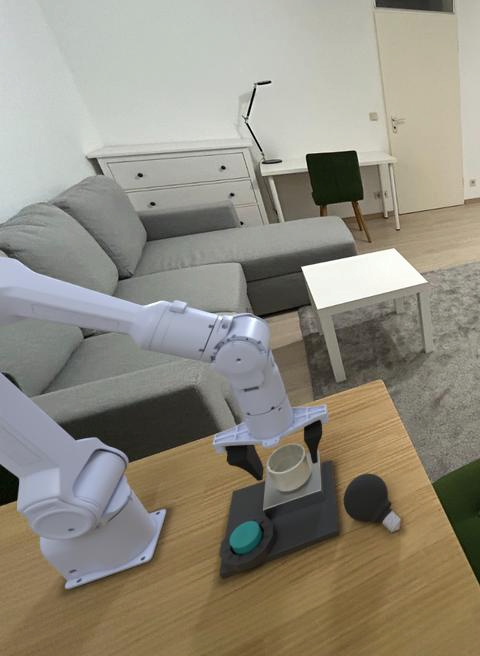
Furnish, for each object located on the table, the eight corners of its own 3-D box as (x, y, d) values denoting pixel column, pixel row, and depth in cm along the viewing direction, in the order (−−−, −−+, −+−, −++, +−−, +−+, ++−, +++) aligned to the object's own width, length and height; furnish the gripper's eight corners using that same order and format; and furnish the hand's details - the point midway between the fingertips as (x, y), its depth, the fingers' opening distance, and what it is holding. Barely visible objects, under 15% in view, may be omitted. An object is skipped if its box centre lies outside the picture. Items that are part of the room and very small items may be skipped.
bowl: (273, 498, 58) (265, 478, 56) (275, 469, 62) (267, 450, 60) (312, 485, 60) (305, 466, 57) (311, 458, 64) (304, 439, 62)
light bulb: (391, 533, 53) (340, 484, 55) (378, 557, 55) (329, 509, 58) (419, 501, 58) (371, 457, 61) (406, 524, 61) (360, 481, 64)
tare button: (231, 558, 52) (227, 552, 51) (235, 533, 55) (231, 526, 54) (261, 547, 53) (258, 541, 52) (263, 523, 56) (260, 517, 55)
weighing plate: (270, 526, 58) (262, 509, 56) (273, 481, 65) (266, 465, 63) (326, 506, 61) (321, 490, 59) (324, 465, 67) (319, 449, 65)
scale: (221, 586, 51) (213, 574, 50) (235, 496, 62) (229, 484, 61) (340, 540, 56) (336, 528, 55) (333, 465, 67) (329, 453, 66)
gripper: (195, 438, 47) (231, 507, 54) (321, 404, 52) (340, 471, 59) (206, 400, 53) (237, 466, 60) (319, 372, 58) (336, 436, 64)
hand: (288, 466), depth 60 cm, fingers open, 7 cm apart
